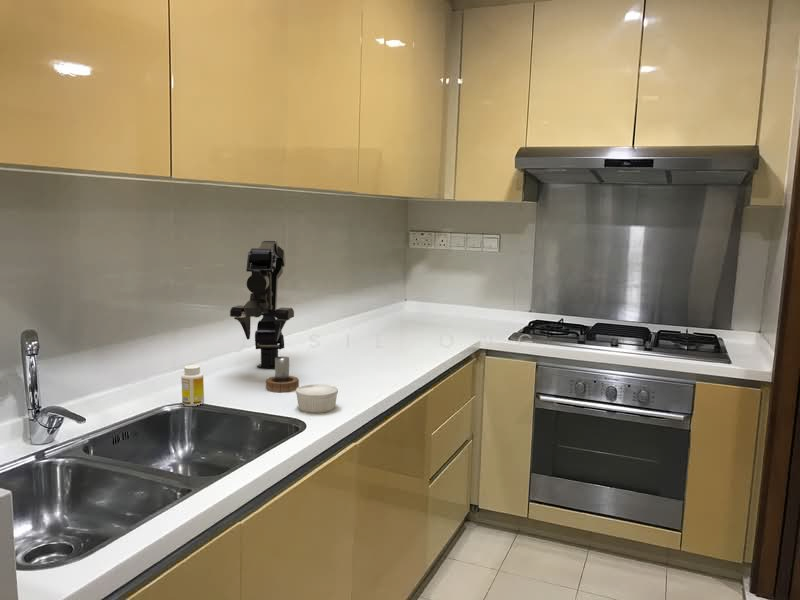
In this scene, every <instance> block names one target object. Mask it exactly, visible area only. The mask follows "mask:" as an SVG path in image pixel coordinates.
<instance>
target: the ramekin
mask: <svg viewBox="0 0 800 600" xmlns="http://www.w3.org/2000/svg"><path fill="white" fill-rule="evenodd" d="M338 393H339V389H338V387H337V386H334V385H331V384H324V383H322V384H321V383H318V384H317V383H315V384H304V385H299V387H298V388H297V389H296V390H295V394H296V400H297V405H298V408H299V409H300V411H302V412H305V413H310V414H320V413H328V412H330V410H331V411H333V410H334V408H335V407H336V404H337V397H338Z"/></svg>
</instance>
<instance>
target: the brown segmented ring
mask: <svg viewBox="0 0 800 600" xmlns="http://www.w3.org/2000/svg"><path fill="white" fill-rule="evenodd" d="M298 387H300V381H299V378H298V377H296V376H293V375H289V382H283V383H279V382H275V375H274V376H270V377H268V378H266V379H265V389H266V390H267V391H268V392H273V393H289V392H294V391H295V392H296V389H297V388H298Z"/></svg>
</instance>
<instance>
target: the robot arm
mask: <svg viewBox="0 0 800 600" xmlns="http://www.w3.org/2000/svg"><path fill="white" fill-rule="evenodd" d="M285 255H286V254H285V250H284V249H283V248H282V247H281V246H279V243H278V241H275V240H263V241H261V245H260V246H259V247H253V248H250V250H249V251H248V253H247V260H246V270H245V271H246V273H247V272H248V273H249V272H251V275H249V277H248V278H247V280H246V288H247V290H248V291H249V292H250V295H249V300H248V301H247V302H246V303H245V305H239V304H238V305H236V306H235V305H234V306H232V307H231V308H230V311H229V317H232V318H234V320H236V321H238V322H239V323H240V325H241V328H242V330H243V332H244V335H245V339H247V340H250V339H251V318H252V317H254V318H260V317H261V316H262V318H261V320H259V321H257V326H256V327H257V328H256V330H255V333H254V343H255V344H254V345H255V350H260V364H258V365H256V368H261V369H274V370H275V358H276V357H279V350H282V349H285V339H284V335H283V332H282V330H283V329H284V326H285V325H286V323H287V321H290V320H291V318H294V317H295V311H294V309H293V307H279V308H277V306H278V304H277V303H278V285H279V278H280V277H281V276H282V274H283V272H284V267H286V256H285Z"/></svg>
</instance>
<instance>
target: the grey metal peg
mask: <svg viewBox="0 0 800 600" xmlns="http://www.w3.org/2000/svg"><path fill="white" fill-rule="evenodd" d="M274 376H275V382H279V383H283V382H289V376H290V357H288V356H278V357H276V358H275V369H274Z"/></svg>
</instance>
